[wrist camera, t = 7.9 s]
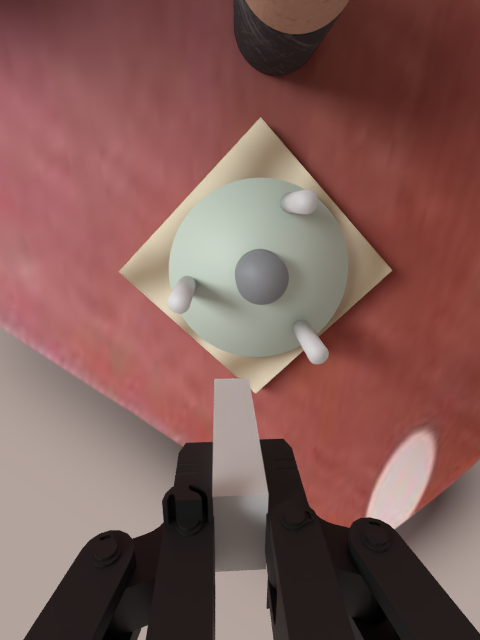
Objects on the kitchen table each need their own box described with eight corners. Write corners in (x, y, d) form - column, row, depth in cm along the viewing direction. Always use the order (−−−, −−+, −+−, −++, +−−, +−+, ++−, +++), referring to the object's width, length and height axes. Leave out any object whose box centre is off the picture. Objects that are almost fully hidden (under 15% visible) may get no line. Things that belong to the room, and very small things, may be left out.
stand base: (124, 268, 35) (115, 274, 32) (258, 122, 32) (262, 113, 29) (255, 386, 40) (258, 401, 36) (384, 268, 36) (399, 274, 33)
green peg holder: (242, 382, 37) (247, 425, 30) (133, 257, 32) (108, 272, 25) (376, 285, 34) (417, 306, 27) (277, 136, 30) (294, 115, 23)
